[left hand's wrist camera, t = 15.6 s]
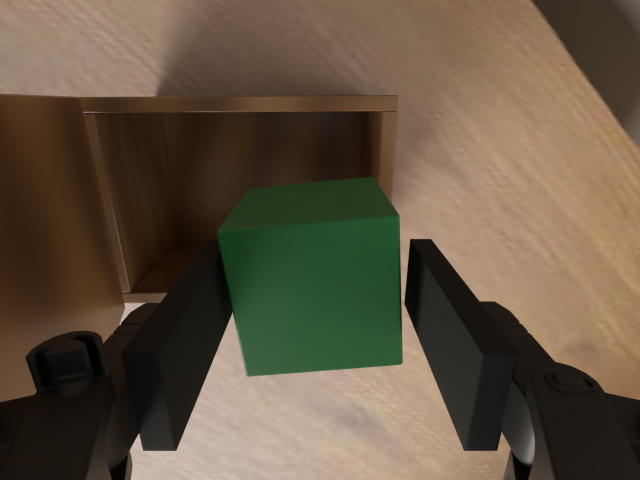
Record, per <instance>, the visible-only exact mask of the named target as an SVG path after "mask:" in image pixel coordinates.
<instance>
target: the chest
mask: <svg viewBox="0 0 640 480" xmlns="http://www.w3.org/2000/svg"><path fill="white" fill-rule="evenodd" d="M80 99H81V103H82V108H83V113H84V117H85V122H86V127H87V131H88V136H89V141H90V145H91V150H92V155H93V160H94V164H95V169H96V174H97V178H98V183H99V188H100V192H101V197H102V202H103V206H104V211H105V216H106V220H107V225H108V230H109V234H110V239H111V244H112V249H113V253H114V258H115V263H116V267H117V272H118V277H119V281H120V286H121V291H122V295H123V300H124V304H132V303H160V302H161V301H162V300H163V298H164V297H165V296H166V294H167V293H168V292H169V291H170V289H171V288H172V287H173V285H174V284H175V283H176V282H177V280H178V279H179V278H180V276H181V275H182V274H183V273H184V271H185V270H186V269H187V267H188V266H189V265H190V264H191V262H192V261H193V260H194V258H195V257H196V256H197V254H198V253H199V252H200V251H201V249H202V248H203V247H204V245H205V244H206V243H207V242H208V240H209V239H217V234H216V232H217V230H218V228H219V227H220V226H221V225H222V223H223V222H224V221H225V219H226V218H227V217H228V215H229V214H230V213H231V211H232V210H233V209H234V207H235V206H236V205H237V203H238V202H239V201H240V200H241V198H242V197H243V196H244V194H245V193H246V192H247V190H248V189H250V188H260V187H271V186H281V185H292V184H302V183H312V182H323V181H333V180H344V179H354V178H365V177H374V178H375V179H376V181H377V182H378V184H379V185H380V187H381V188H382V190H383V191H384V193H385V194H386V196H387V197H388V199H389V200H390V202H391V203H392V188H393V172H394V156H395V140H396V124H397V107H398V96H397V95H342V96H184V97H80Z"/></svg>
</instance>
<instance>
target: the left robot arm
mask: <svg viewBox="0 0 640 480" xmlns="http://www.w3.org/2000/svg"><path fill="white" fill-rule="evenodd" d="M404 304H405V306H406V309H407V311H408V314H409V316H410V319H411V321H412V324H413V326H414V328H415V331H416V333H417V336H418V338H419V341H420V343H421V346H422V348H423V351H424V353H425V356H426V358H427V360H428V363H429V365H430V368H431V370H432V373H433V375H434V378H435V380H436V383H437V385H438V387H439V390H440V392H441V395H442V397H443V400H444V402H445V405H446V407H447V410H448V412H449V414H450V417H451V419H452V422H453V424H454V427H455V429H456V432H457V434H458V437H459V439H460V441H461V444H462V446H463V449H464V451H497V449H498V445H499V440H500V436H501V432H502V433H503V435H504V436H505V438H506V440H507V442H508V444H509V446H510V448H511V450H510V454H509V458H508V462H507V466H506V470H505V474H504V478H503V480H640V400H636V399H631V398H627V397H622V396H617V395H613V394H608V393H605V392H604V390H603V389H602V388H601V386H600V385H599V384H598V383H597V381H595V380H594V379H593V378H591V377H590V376H589V375H587V374H586V373H584V372H582V371H580V370H578V369H576V368H574V367H572V366H569V365H565V364H562V363H558V362H555V361H554V360H553V359H552V358H551V357H550V356H549V355H548V353H547V352H546V351H545V350H544V349H543V348H542V347H541V346H540V344H539V343H538V342H537V341H536V340H535V339H534V338H533V337H532V335H531V334H530V333H528V332H527V330H526V329H525V327H524V326H523V325H522V324H520V323H519V321H518V320H517V318H516V317H515V316H514V315H513V314H512V313H511V312H510V311H509V310H508V309H506V308H504V307H503V306H501V305H499V304H498V303H496V302H479V300H478V299H477V298H476V296H475V295H474V294H473V293H472V291H471V290H470V289H469V287H468V286H467V285H466V284H465V282H464V281H463V280H462V278H461V277H460V276H459V275H458V273H457V272H456V271H455V269H454V268H453V267H452V266H451V264H450V263H449V262H448V260H447V259H446V258H445V257H444V255H443V254H442V253H441V251H440V250H439V249H438V248H437V246H436V245H435V244H434V242H433V241H432V240H431V239H410V249H409V260H408V271H407V281H406V292H405V303H404ZM232 312H233V310H232V305H231V301H230V296H229V291H228V286H227V282H226V277H225V272H224V267H223V262H222V258H221V253H220V248H219V243H218V239H209V240H208V242H207V243H206V244H205V245H204V247H203V248H202V249H201V251H200V252H199V253H198V254H197V256H196V257H195V258H194V260H193V261H192V262H191V264H190V265H189V266H188V267H187V269H186V270H185V271H184V273H183V274H182V275H181V276H180V278H179V279H178V280H177V282H176V283H175V284H174V285H173V287H172V288H171V289H170V291H169V292H168V293H167V294H166V296H165V297H164V298H163V300H162V301H161V302H160V303H145V304H143V305H142V306H140V307H138V308H137V309H135V310H133V311H132V312H131V313H130V314H129V315H128V316H127V317H126V318H125V319H124V321H123V322H122V323H121V325H119V326H118V327H117V328H116V330H115V331H114V332H113V335H110V336H109V338H108V339H107V340H106V341H105V342H104V343H103V341H102V337H101V336H100V335H99V334H97V333H96V332H92V331H86V330H85V331H73V332H69V333H65V334H61V335H58V336H55V337H53V338H50V339H48V340H46V341H44V342H42V343H41V344H39V345H38V346H36V347H34V348H33V349H32V350H31V351H30V352H29V353H28V354H27V355H26V357H25V358H26V361H27V364H28V367H29V370H30V373H31V376H32V379H33V382H34V385H35V388H36V390H37V391H36V393H35V394H34V395H31V396H26V397H21V398H17V399H12V400H7V401H3V402H0V480H131V473H132V458H131V454H130V448H131V447H132V445H133V443H134V441H135V439H136V437H137V436H138V434H140V439H141V443H142V447H143V451H176V450H177V447H178V445H179V442H180V440H181V438H182V435H183V433H184V430H185V428H186V425H187V423H188V420H189V418H190V415H191V413H192V411H193V408H194V406H195V403H196V401H197V398H198V396H199V393H200V391H201V388H202V386H203V384H204V381H205V379H206V376H207V374H208V371H209V369H210V366H211V364H212V361H213V359H214V356H215V354H216V352H217V349H218V347H219V344H220V342H221V339H222V337H223V334H224V332H225V329H226V327H227V325H228V322H229V320H230V317H231V315H232Z"/></svg>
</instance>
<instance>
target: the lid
mask: <svg viewBox="0 0 640 480" xmlns="http://www.w3.org/2000/svg"><path fill="white" fill-rule="evenodd" d="M124 309H125V305H124V300H123V295H122V291H121V286H120V281H119V277H118V272H117V267H116V263H115V258H114V253H113V249H112V244H111V239H110V234H109V230H108V225H107V220H106V216H105V211H104V206H103V202H102V197H101V192H100V188H99V183H98V178H97V174H96V169H95V164H94V160H93V155H92V150H91V145H90V141H89V136H88V131H87V127H86V122H85V117H84V113H83V108H82V103H81V99H80V97H66V96H42V95H17V94H0V402H3V401H7V400H12V399H17V398H21V397H26V396H31V395H34V394H35V393H36V391H37V390H36V388H35V385H34V382H33V379H32V376H31V373H30V370H29V367H28V364H27V361H26V358H25V357H26V355H27V354H28V353H29V352H30V351H31V350H32V349H33V348H34V347H36V346H38V345H39V344H41V343H42V342H44V341H46V340H48V339H50V338H53V337H55V336H58V335H61V334H65V333H69V332H73V331H85V330H86V331H92V332H96V333H97V334H99V335H100V336H101V337H102V341H103V343H104V342H105V341H106V340H107V339H108V338H109V336H110V335H113V332H114V331H115V330H116V328H117V327H118V326H119V323H120V321H121V318H122V315H123V312H124Z"/></svg>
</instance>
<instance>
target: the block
mask: <svg viewBox="0 0 640 480" xmlns="http://www.w3.org/2000/svg"><path fill="white" fill-rule="evenodd" d="M216 234H217V239H218V243H219V248H220V253H221V258H222V262H223V267H224V272H225V277H226V282H227V286H228V291H229V296H230V301H231V305H232V310H233V315H234V320H235V325H236V329H237V334H238V339H239V344H240V348H241V353H242V358H243V363H244V367H245V372H246V376H248V377H250V376H262V375H275V374H288V373H301V372H313V371H326V370H339V369H352V368H365V367H377V366H390V365H401V364H402V362H403V361H402V314H401V268H400V221H399V214H398V213H397V211H396V210H395V208H394V207H393V205H392V203H391V202H390V200H389V199H388V197H387V196H386V194H385V193H384V191H383V190H382V188H381V187H380V185H379V184H378V182H377V181H376V179H375V178H374V177H365V178H354V179H344V180H333V181H323V182H312V183H302V184H292V185H281V186H271V187H260V188H250V189H248V190H247V192H246V193H245V194H244V196H243V197H242V198H241V200H240V201H239V202H238V203H237V205H236V206H235V207H234V209H233V210H232V211H231V213H230V214H229V215H228V217H227V218H226V219H225V221H224V222H223V223H222V225H221V226H220V227H219V228H218V230H217V232H216Z"/></svg>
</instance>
